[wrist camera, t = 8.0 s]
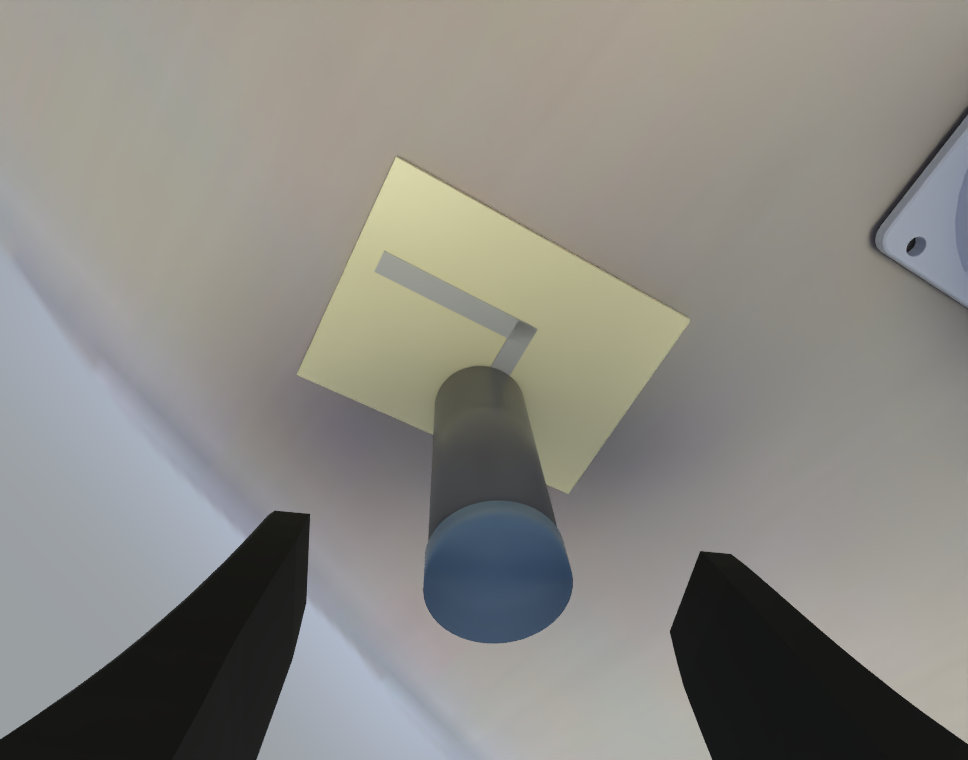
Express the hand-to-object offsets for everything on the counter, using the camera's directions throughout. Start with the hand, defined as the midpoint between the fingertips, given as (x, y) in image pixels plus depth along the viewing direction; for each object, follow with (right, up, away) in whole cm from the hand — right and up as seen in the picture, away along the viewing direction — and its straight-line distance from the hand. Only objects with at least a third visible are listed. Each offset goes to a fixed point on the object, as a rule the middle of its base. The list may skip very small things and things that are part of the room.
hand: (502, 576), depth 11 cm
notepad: (0, +5, +6) cm, 8 cm away
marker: (0, +3, +6) cm, 7 cm away
